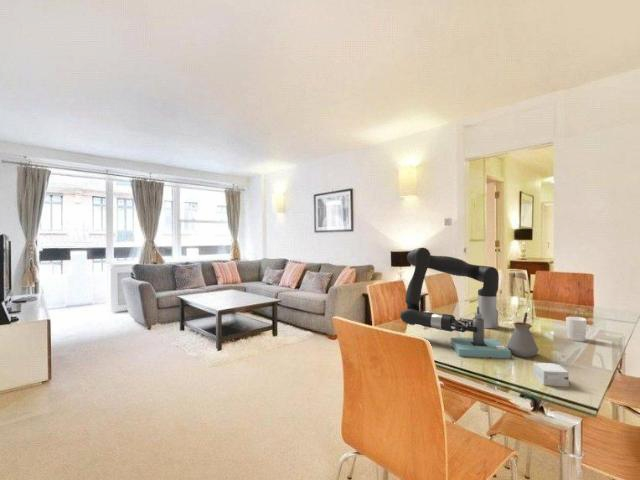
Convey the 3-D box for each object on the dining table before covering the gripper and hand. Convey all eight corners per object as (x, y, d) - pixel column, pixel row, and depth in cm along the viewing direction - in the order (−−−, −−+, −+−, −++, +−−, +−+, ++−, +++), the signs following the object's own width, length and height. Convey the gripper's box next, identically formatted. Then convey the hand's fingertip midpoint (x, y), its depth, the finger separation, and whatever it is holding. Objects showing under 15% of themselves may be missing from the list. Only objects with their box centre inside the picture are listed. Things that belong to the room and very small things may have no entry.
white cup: (582, 337, 163) (582, 317, 163) (589, 342, 155) (589, 321, 155) (563, 336, 165) (563, 316, 165) (569, 341, 158) (569, 320, 158)
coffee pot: (537, 361, 134) (536, 324, 134) (504, 355, 141) (504, 320, 141) (541, 346, 151) (541, 313, 151) (512, 342, 158) (512, 310, 158)
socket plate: (496, 345, 153) (496, 336, 153) (510, 358, 138) (510, 348, 138) (450, 343, 157) (450, 335, 157) (459, 356, 141) (459, 346, 141)
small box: (543, 385, 113) (543, 370, 113) (533, 376, 121) (533, 362, 121) (569, 387, 112) (569, 372, 112) (557, 377, 119) (557, 363, 119)
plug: (482, 349, 149) (481, 305, 149) (485, 352, 145) (485, 307, 144) (471, 348, 150) (471, 305, 149) (474, 352, 145) (474, 307, 145)
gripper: (437, 317, 151) (475, 322, 141) (448, 311, 162) (484, 315, 152) (437, 333, 152) (475, 340, 141) (448, 326, 163) (484, 332, 152)
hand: (480, 327), depth 147 cm, fingers open, 8 cm apart
